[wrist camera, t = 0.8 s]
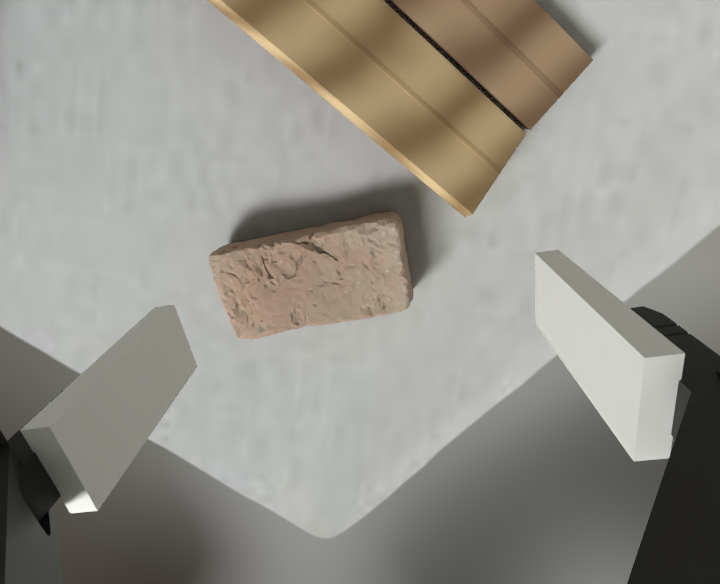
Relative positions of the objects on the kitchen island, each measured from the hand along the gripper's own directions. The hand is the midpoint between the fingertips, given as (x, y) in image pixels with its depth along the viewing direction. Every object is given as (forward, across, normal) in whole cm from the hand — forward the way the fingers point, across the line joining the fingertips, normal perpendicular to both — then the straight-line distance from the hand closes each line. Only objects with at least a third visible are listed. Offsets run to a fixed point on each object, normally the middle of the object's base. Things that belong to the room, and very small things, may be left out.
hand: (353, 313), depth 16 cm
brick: (+24, -6, -6) cm, 25 cm away
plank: (+21, +1, +10) cm, 24 cm away
